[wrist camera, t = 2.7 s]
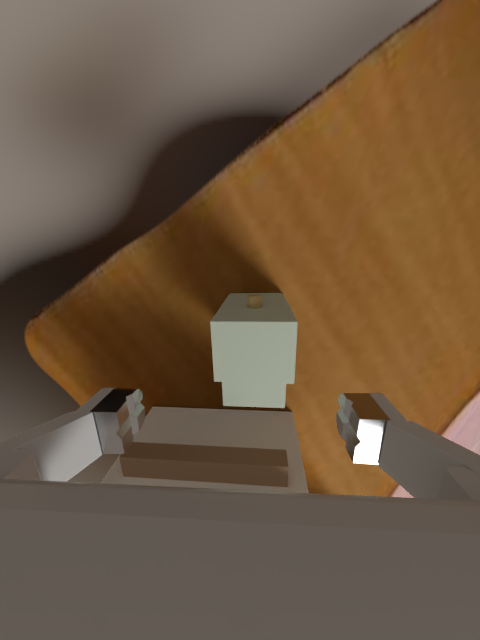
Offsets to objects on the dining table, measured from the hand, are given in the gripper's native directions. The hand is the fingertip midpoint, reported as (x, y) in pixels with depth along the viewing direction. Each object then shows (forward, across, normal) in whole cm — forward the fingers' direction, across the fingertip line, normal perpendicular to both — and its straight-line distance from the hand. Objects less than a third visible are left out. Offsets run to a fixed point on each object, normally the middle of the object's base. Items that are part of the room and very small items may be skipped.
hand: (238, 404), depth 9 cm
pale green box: (+14, -1, 0) cm, 14 cm away
